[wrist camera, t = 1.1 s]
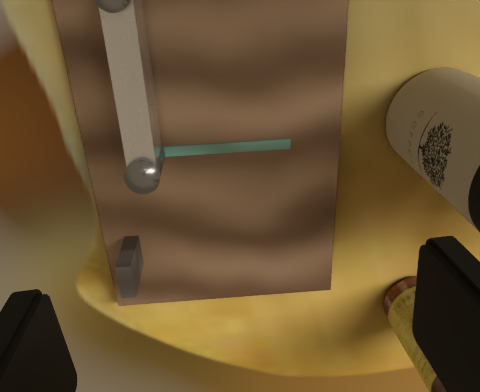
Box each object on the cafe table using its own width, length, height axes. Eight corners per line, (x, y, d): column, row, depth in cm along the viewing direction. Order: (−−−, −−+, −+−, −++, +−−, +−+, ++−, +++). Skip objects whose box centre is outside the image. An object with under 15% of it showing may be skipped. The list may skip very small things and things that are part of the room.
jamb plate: (45, -66, 29) (8, -75, 23) (347, -80, 30) (378, -92, 24) (121, 295, 42) (108, 341, 37) (326, 279, 43) (343, 323, 38)
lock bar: (104, -26, 28) (84, -26, 24) (141, -28, 28) (129, -28, 24) (136, 169, 34) (125, 198, 30) (167, 167, 35) (161, 196, 30)
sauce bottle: (379, 323, 46) (485, 540, 29) (382, 275, 43) (502, 483, 26) (440, 316, 46) (584, 528, 29) (448, 268, 44) (612, 470, 26)
